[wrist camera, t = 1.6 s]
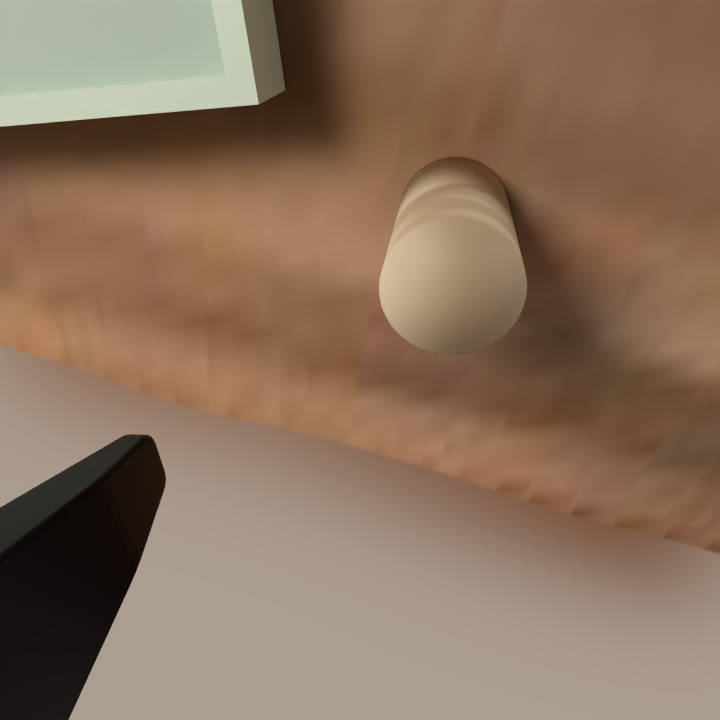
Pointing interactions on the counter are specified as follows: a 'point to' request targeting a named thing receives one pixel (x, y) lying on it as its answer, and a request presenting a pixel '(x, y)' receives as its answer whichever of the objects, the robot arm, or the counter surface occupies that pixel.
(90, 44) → the box
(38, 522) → the robot arm
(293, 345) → the counter surface
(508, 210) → the peg
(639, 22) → the counter surface
